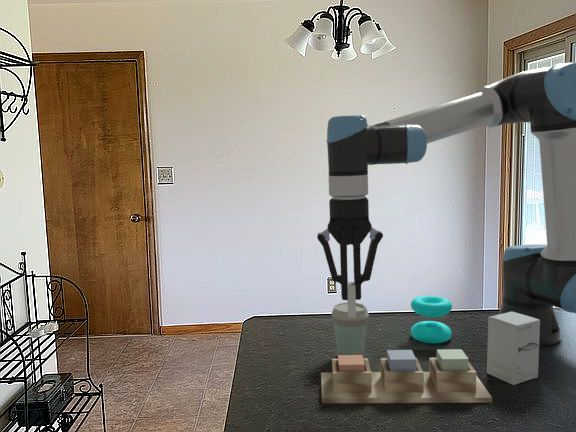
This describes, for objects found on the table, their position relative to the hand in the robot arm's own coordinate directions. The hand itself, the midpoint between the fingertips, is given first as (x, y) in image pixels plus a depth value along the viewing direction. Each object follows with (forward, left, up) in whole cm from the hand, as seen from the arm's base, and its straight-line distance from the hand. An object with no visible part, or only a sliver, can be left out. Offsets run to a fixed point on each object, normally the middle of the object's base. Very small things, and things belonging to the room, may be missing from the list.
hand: (351, 315), depth 109 cm
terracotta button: (0, 0, -13) cm, 13 cm away
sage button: (-20, 0, -12) cm, 23 cm away
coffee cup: (-1, -17, -16) cm, 23 cm away
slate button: (-10, 0, -12) cm, 16 cm away
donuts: (-22, -29, -16) cm, 39 cm away
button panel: (-10, 0, -15) cm, 18 cm away
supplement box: (-34, -6, -16) cm, 38 cm away
